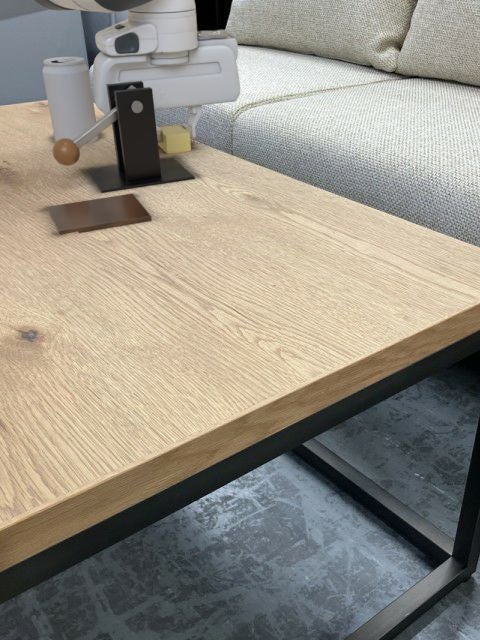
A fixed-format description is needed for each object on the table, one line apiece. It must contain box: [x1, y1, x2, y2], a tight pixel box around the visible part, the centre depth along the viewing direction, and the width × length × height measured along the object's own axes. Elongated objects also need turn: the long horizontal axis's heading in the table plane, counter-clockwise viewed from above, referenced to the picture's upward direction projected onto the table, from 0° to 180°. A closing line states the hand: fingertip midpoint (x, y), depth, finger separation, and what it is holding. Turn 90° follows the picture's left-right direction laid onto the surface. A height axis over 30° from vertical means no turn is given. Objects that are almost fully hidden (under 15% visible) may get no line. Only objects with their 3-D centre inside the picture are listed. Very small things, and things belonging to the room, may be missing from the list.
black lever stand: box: [85, 81, 195, 194], centre depth 88 cm, size 12×9×12 cm
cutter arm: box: [52, 85, 136, 167], centre depth 86 cm, size 13×3×3 cm
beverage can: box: [42, 56, 100, 145], centre depth 102 cm, size 6×6×12 cm
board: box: [46, 193, 152, 235], centre depth 79 cm, size 10×8×2 cm
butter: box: [158, 124, 192, 155], centre depth 101 cm, size 4×5×3 cm
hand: (173, 139), depth 100 cm, fingers closed on butter, 3 cm apart
